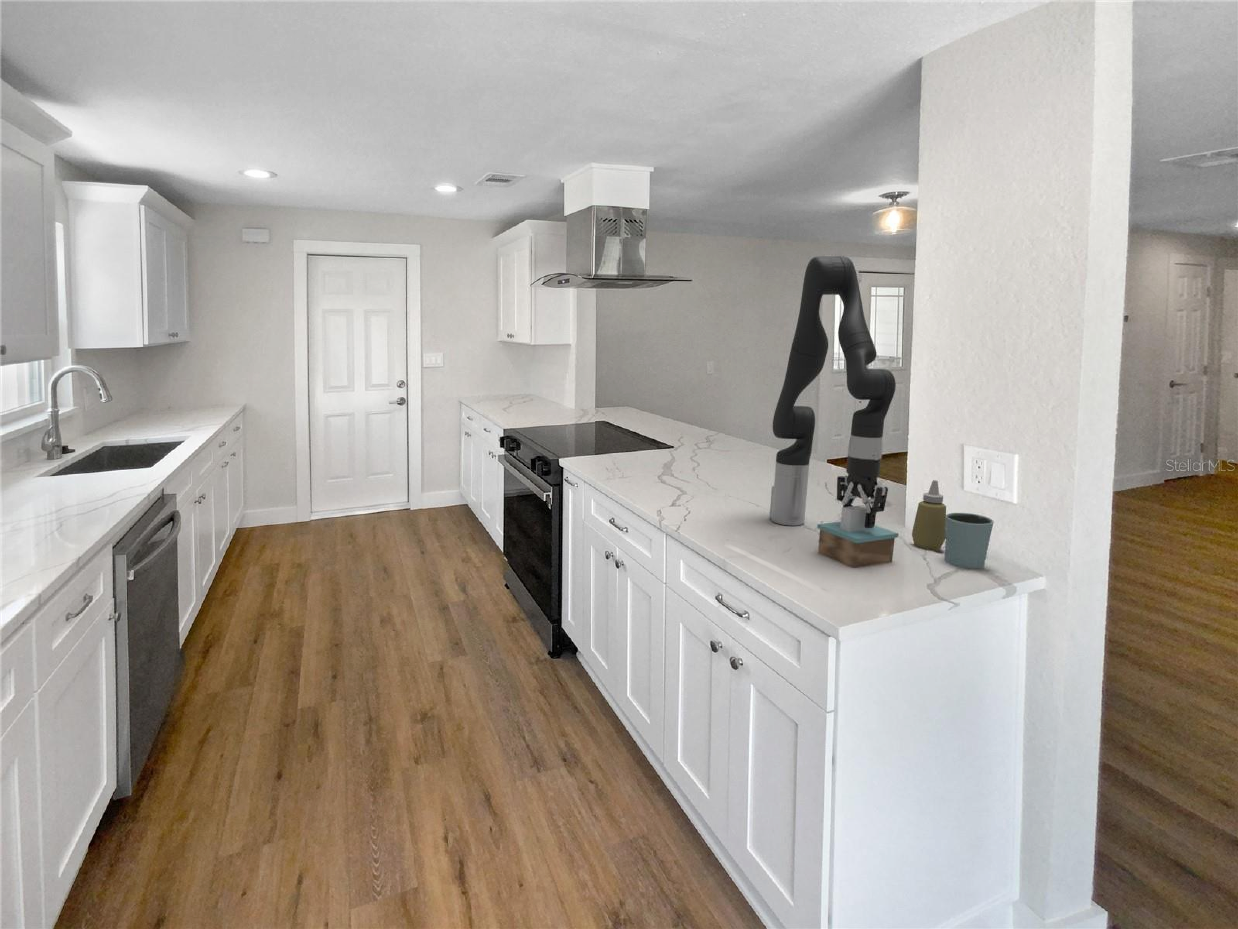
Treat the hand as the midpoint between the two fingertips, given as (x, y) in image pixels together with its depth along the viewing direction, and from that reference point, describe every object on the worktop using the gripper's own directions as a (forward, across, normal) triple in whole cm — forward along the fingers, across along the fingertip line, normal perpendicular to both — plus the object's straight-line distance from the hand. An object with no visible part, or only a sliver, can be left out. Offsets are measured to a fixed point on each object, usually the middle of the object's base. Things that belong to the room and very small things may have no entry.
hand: (857, 523), depth 171 cm
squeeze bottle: (+9, 0, +25) cm, 27 cm away
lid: (+3, 0, 0) cm, 3 cm away
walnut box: (+9, 0, 0) cm, 9 cm away
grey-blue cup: (+9, +13, +22) cm, 27 cm away
